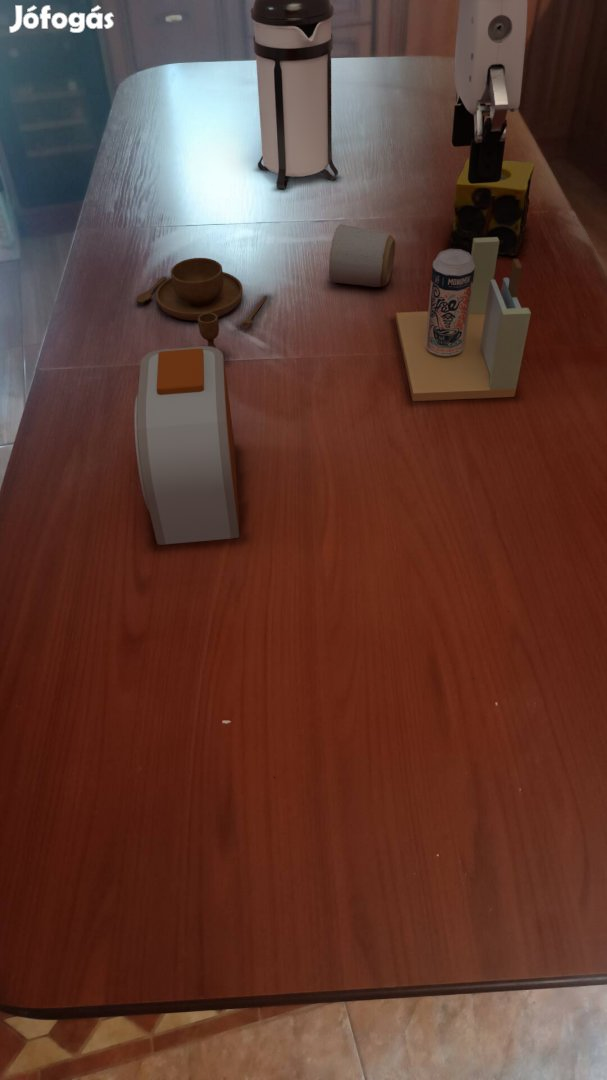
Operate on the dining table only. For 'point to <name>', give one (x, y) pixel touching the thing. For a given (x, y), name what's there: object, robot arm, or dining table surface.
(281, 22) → the coffee press
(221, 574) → the dining table surface
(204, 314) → the place setting
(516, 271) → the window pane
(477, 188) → the yellow cube with holes
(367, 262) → the grey cylinder
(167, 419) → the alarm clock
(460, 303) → the beer can
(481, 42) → the robot arm
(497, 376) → the bookend with square base
